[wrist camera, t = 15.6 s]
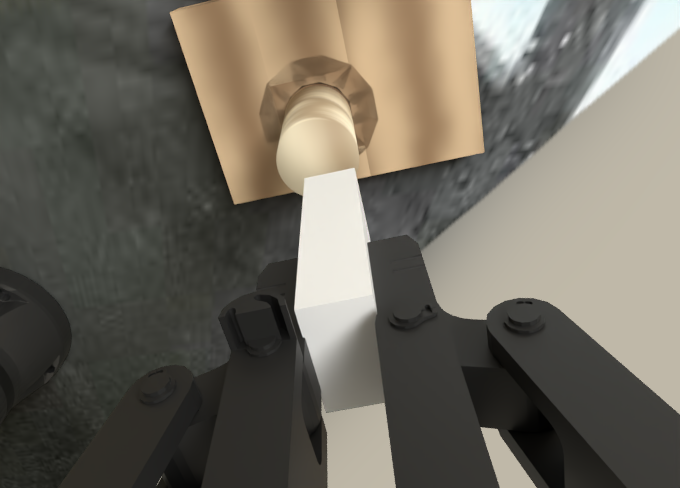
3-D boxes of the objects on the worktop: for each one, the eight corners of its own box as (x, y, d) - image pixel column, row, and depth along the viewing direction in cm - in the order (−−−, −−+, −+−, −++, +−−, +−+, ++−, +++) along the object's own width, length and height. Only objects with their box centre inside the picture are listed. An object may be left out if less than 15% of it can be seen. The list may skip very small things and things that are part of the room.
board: (239, 190, 51) (234, 204, 48) (179, 8, 43) (169, 12, 41) (475, 141, 49) (484, 152, 47) (456, -59, 42) (465, -59, 39)
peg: (295, 145, 49) (287, 206, 37) (278, 83, 46) (265, 129, 35) (356, 132, 48) (367, 190, 37) (343, 68, 46) (350, 110, 34)
